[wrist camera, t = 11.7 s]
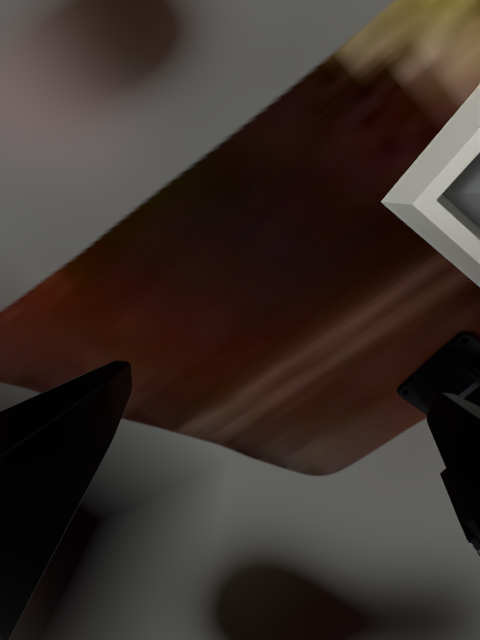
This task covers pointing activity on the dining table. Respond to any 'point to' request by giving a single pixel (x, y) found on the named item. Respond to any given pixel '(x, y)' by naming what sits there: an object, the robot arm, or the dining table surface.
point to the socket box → (446, 191)
